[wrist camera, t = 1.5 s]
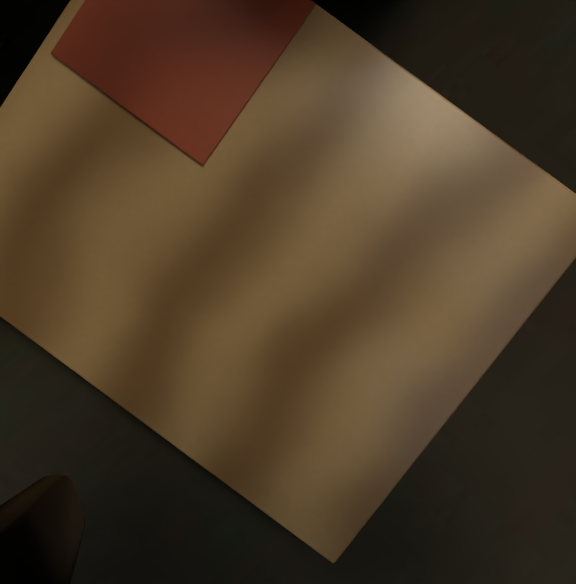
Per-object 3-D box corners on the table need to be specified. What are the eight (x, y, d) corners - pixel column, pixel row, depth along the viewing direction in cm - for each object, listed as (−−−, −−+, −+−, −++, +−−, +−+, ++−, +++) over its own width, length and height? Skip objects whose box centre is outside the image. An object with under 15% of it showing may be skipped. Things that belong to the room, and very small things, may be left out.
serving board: (587, 220, 20) (612, 216, 18) (332, 543, 21) (334, 568, 19) (160, -92, 20) (146, -125, 18) (-64, 249, 21) (-97, 248, 19)
